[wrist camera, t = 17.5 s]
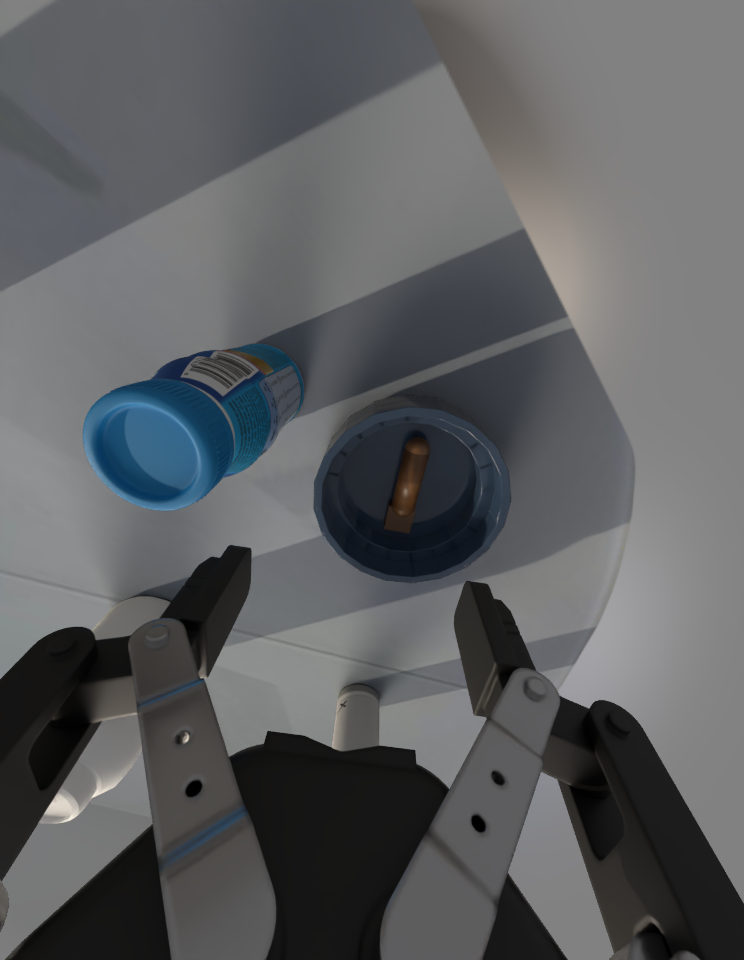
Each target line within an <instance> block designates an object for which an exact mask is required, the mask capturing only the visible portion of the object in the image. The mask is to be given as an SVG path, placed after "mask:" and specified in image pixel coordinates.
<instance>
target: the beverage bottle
mask: <svg viewBox="0 0 744 960" xmlns="http://www.w3.org/2000/svg"><path fill="white" fill-rule="evenodd" d="M303 399H304V382H303V378H302V375H301V373H300V371H299V369H298V367H297V365H296V364H295V363H294V361H293V360H292V359H291V358H290V357H289V356H288V355H287V354H286V353H284V352H283V351H281V350H280V349H278V348H276V347H273V346H270V345H266V344H249V345H245V346H242V347H238V348H232V349H227V350H210V351H203V352H199V353H196V354H193V355H191V356H188V357H183V358H179V359H176V360H174V361H171V362H169V363H168V364H166V365H164V366H163V367H161V368H160V369H159V370H158V371H157V372H156V373H155V374H154V375H153V376H152V377H151V378H150V380H147V381H142V382H138V383H134V384H130V385H127V386H123V387H120V388H117V389H115V390H113V391H111V392H110V393H107V394H106V395H104V396H103V397H101V398H100V399H99V400H98V401H97V402H96V403H95V404H94V405H93V406H92V407H91V409H90V410H89V412H88V414H87V416H86V419H85V422H84V426H83V443H84V448H85V452H86V455H87V458H88V460H89V462H90V464H91V466H92V468H93V469H94V471H95V472H96V474H97V475H98V477H99V478H100V479H101V480H102V481H103V482H104V483H105V484H106V485H107V486H108V487H109V488H110V489H111V490H112V491H113V492H115V493H116V494H117V495H119V496H120V497H122V498H123V499H125V500H127V501H129V502H131V503H133V504H135V505H138V506H141V507H144V508H147V509H152V510H161V511H169V510H177V509H181V508H184V507H187V506H189V505H191V504H193V503H195V502H197V501H199V500H200V499H202V498H203V497H204V496H206V495H207V494H208V493H209V492H210V491H211V490H212V489H213V488H214V487H215V486H216V485H217V484H218V483H219V481H220V480H221V479H222V478H223V477H228V476H231V475H234V474H237V473H239V472H241V471H243V470H245V469H246V468H248V467H249V466H250V465H252V464H253V463H254V462H255V461H256V460H257V458H258V457H260V456H261V455H262V454H264V453H265V452H266V451H267V450H268V449H269V448H270V447H271V445H272V444H273V443H274V441H275V439H276V437H277V435H278V433H279V431H280V430H281V429H282V428H283V427H284V426H285V425H286V424H287V423H288V422H290V421H291V420H292V419H293V418H294V417H295V416H296V414H297V413H298V412H299V410H300V408H301V406H302V403H303Z"/></svg>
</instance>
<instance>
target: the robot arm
mask: <svg viewBox="0 0 744 960" xmlns="http://www.w3.org/2000/svg"><path fill="white" fill-rule="evenodd" d="M250 583H251V548H247V547H240V546H234V545H229V546H228V547H227V549H226V550H225V552H224V553H223V554H222V556H221V557H220V558H217V557H210V558H209V559H207V560H206V561H204V562H203V563H201V564H199V565H198V567H197V568H196V569H195V571H194V572H193V574H192V575H191V577H190V578H189V579H188V580H187V582H186V583H185V586H183V587H182V588H181V590H180V591H179V592H178V594H177V595H176V596H175V598H174V599H173V600H172V602H171V603H170V604H169V606H168V607H167V608H166V610H165V611H164V613H163V614H162V615H161V617H160V618H159V619H155V620H152V621H149V622H147V623H145V624H143V625H142V626H140V627H139V628H138V629H136V630H135V631H134V632H133V634H132V635H129V636H124V637H117V638H109V639H100V640H96V639H95V635H94V633H93V632H92V631H91V630H90V629H87V628H84V627H69V628H64V629H61V630H58V631H55V632H53V633H51V634H49V635H47V636H45V637H43V638H42V639H41V640H39V641H38V642H37V643H36V644H34V645H33V646H32V647H31V648H30V649H29V650H28V651H27V653H26V654H25V655H24V656H23V657H22V658H21V659H20V660H19V661H18V662H17V663H16V664H15V665H14V666H13V667H12V668H11V669H10V670H9V671H8V672H7V673H6V674H5V675H4V676H3V677H2V678H1V679H0V931H1V929H2V927H3V925H4V922H5V919H6V917H7V913H8V908H9V897H8V893H7V891H6V889H5V887H4V885H3V883H2V880H3V878H4V877H5V875H6V873H7V872H8V871H9V869H10V867H11V866H12V864H13V863H14V861H15V859H16V858H17V856H18V855H19V853H20V851H21V850H22V848H23V847H24V845H25V843H26V842H27V840H28V839H29V837H30V835H31V834H32V832H33V831H34V829H35V828H36V826H37V824H38V823H39V821H40V820H41V818H42V816H43V815H44V813H45V812H46V810H47V809H48V807H49V805H50V804H51V802H52V801H53V799H54V797H55V796H56V794H57V793H58V791H59V789H60V788H61V786H62V785H63V783H64V781H65V780H66V778H67V777H68V775H69V774H70V772H71V770H72V769H73V767H74V766H75V764H76V762H77V761H78V759H79V758H80V756H81V754H82V753H83V751H84V750H85V748H86V746H87V745H88V743H89V742H90V740H91V739H92V737H93V735H94V734H95V732H96V731H97V729H98V727H99V726H100V724H101V723H102V721H105V720H110V719H115V718H121V717H126V716H132V715H138V722H139V729H140V736H141V744H142V751H143V758H144V765H145V772H146V779H147V786H148V794H149V801H150V808H151V815H152V822H153V824H152V825H151V826H150V827H148V828H147V829H146V830H145V831H144V832H143V833H142V834H141V835H140V836H138V837H137V838H136V839H135V840H134V841H133V842H132V843H131V844H130V845H128V846H127V847H126V848H125V849H124V850H123V851H122V852H121V853H120V854H119V855H117V856H116V857H115V858H114V859H113V860H112V861H111V862H110V863H109V864H107V865H106V866H105V867H104V868H103V869H102V870H101V871H100V872H99V873H98V874H96V875H95V877H93V878H92V879H91V880H90V881H89V882H88V883H86V884H85V885H84V886H83V887H82V888H81V889H80V890H79V891H78V892H77V893H76V894H74V895H73V896H72V897H71V898H70V899H69V900H68V901H66V902H65V903H64V904H63V905H62V906H61V907H60V908H59V909H58V910H57V911H55V912H54V913H53V914H52V915H51V916H50V917H49V918H48V919H47V920H45V921H44V922H43V923H42V924H41V925H40V926H39V927H38V928H37V929H36V930H34V931H33V932H32V933H31V934H30V935H29V936H28V937H27V938H26V939H24V940H23V941H22V942H21V943H20V944H19V945H18V946H17V947H16V948H15V950H14V951H12V953H11V954H10V955H9V956H8V957H7V958H6V959H5V960H568V959H567V958H566V957H565V955H564V954H563V952H562V951H561V949H560V948H559V946H558V945H557V944H556V942H555V941H554V939H553V938H552V936H551V935H550V933H549V932H548V930H547V929H546V928H545V926H544V925H543V923H542V922H541V920H540V919H539V917H538V916H537V914H536V913H535V912H534V910H533V909H532V907H531V906H530V904H529V903H528V901H527V900H526V899H525V897H524V896H523V894H522V893H521V891H520V890H519V888H518V887H517V885H516V884H515V883H514V881H513V880H512V878H511V877H510V875H509V874H508V870H509V867H510V864H511V861H512V858H513V855H514V852H515V849H516V846H517V843H518V840H519V837H520V834H521V831H522V828H523V825H524V822H525V819H526V816H527V813H528V810H529V807H530V804H531V800H532V797H533V794H534V791H535V788H536V785H537V782H538V779H539V776H540V773H541V772H543V773H545V774H547V775H549V776H551V777H554V778H555V779H557V780H558V783H559V786H560V789H561V792H562V795H563V798H564V801H565V804H566V807H567V810H568V813H569V816H570V819H571V823H572V825H573V829H574V831H575V835H576V838H577V841H578V844H579V847H580V850H581V853H582V856H583V859H584V862H585V865H586V868H587V872H588V875H589V878H590V881H591V884H592V887H593V890H594V893H595V896H596V899H597V902H598V905H599V908H600V911H601V914H602V917H603V920H604V924H605V927H606V930H607V933H608V936H609V939H610V942H611V945H612V948H613V951H614V955H612V957H611V958H610V959H609V960H744V903H743V902H742V900H741V898H740V897H739V895H738V893H737V892H736V890H735V888H734V886H733V884H732V883H731V881H730V879H729V878H728V876H727V874H726V872H725V870H724V869H723V867H722V865H721V863H720V862H719V860H718V858H717V857H716V855H715V854H714V851H713V850H712V848H711V846H710V845H709V843H708V841H707V839H706V838H705V836H704V834H703V832H702V831H701V829H700V827H699V825H698V824H697V822H696V820H695V818H694V817H693V815H692V813H691V811H690V810H689V808H688V806H687V805H686V803H685V801H684V799H683V798H682V796H681V794H680V792H679V791H678V789H677V787H676V785H675V784H674V782H673V780H672V779H671V777H670V775H669V773H668V772H667V770H666V768H665V766H664V765H663V763H662V761H661V759H660V758H659V756H658V754H657V752H656V751H655V749H654V747H653V745H652V744H651V742H650V740H649V739H648V737H647V735H646V733H645V732H644V730H643V728H642V727H641V725H640V724H639V723H638V722H637V720H636V719H635V718H634V717H633V716H632V715H631V714H630V713H629V712H627V711H626V710H625V709H623V708H622V707H620V706H618V705H616V704H614V703H612V702H609V701H605V700H599V701H595V702H594V703H593V704H592V705H591V707H590V709H588V708H586V707H584V706H581V705H579V704H577V703H574V702H572V701H569V700H567V699H565V698H563V697H561V696H559V694H558V691H557V690H556V688H555V686H554V685H553V684H552V683H551V682H550V681H549V680H548V679H547V678H546V677H545V676H543V675H542V674H540V673H539V672H537V671H536V669H535V667H534V665H533V662H532V660H531V658H530V655H529V653H528V651H527V648H526V646H525V644H524V641H523V639H522V637H521V635H520V632H519V630H518V627H517V625H516V623H515V620H514V618H513V616H512V613H511V611H510V610H509V609H508V608H507V607H506V606H505V604H504V603H503V602H502V601H501V600H497V599H494V598H493V595H492V593H491V590H490V588H489V586H488V584H485V583H478V582H471V581H466V583H465V584H464V587H463V590H462V593H461V596H460V599H459V602H458V605H457V608H456V611H455V616H454V629H455V634H456V638H457V643H458V647H459V651H460V656H461V660H462V665H463V669H464V673H465V678H466V682H467V687H468V691H469V696H470V700H471V704H472V709H473V713H474V715H476V716H483V717H486V718H487V720H486V722H485V724H484V725H483V727H482V729H481V731H480V733H479V735H478V737H477V739H476V740H475V742H474V744H473V746H472V748H471V750H470V752H469V754H468V755H467V757H466V759H465V761H464V763H463V765H462V767H461V769H460V771H459V772H458V774H457V776H456V778H455V780H454V782H453V784H452V786H451V787H450V789H449V788H448V787H447V786H446V785H445V784H444V783H443V782H442V781H441V780H440V779H439V778H438V777H436V776H435V775H434V774H433V773H431V772H430V771H428V770H427V769H425V768H423V767H422V766H420V765H417V764H416V754H415V750H410V749H402V748H394V747H387V746H374V747H367V748H361V749H355V750H349V751H338V750H336V749H333V748H331V747H329V746H327V745H324V744H322V743H320V742H317V741H315V740H313V739H311V738H308V737H306V736H302V735H294V734H287V733H279V732H271V731H267V735H266V739H265V742H264V744H261V745H256V746H252V747H249V748H246V749H244V750H242V751H239V752H237V753H235V754H234V755H232V756H230V757H229V756H228V753H227V750H226V746H225V743H224V740H223V737H222V734H221V730H220V727H219V724H218V721H217V718H216V714H215V711H214V708H213V705H212V702H211V698H210V695H209V692H208V689H207V686H206V683H205V681H204V679H203V678H208V676H209V674H210V672H211V670H212V668H213V666H214V664H215V662H216V660H217V658H218V656H219V654H220V652H221V650H222V648H223V646H224V644H225V642H226V639H227V637H228V635H229V633H230V631H231V629H232V627H233V625H234V623H235V621H236V619H237V617H238V615H239V613H240V611H241V609H242V607H243V605H244V602H245V600H246V598H247V596H248V593H249V589H250ZM200 677H202V679H200Z"/></svg>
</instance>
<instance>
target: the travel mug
mask: <svg viewBox="0 0 744 960" xmlns="http://www.w3.org/2000/svg"><path fill="white" fill-rule="evenodd" d="M374 746H379V695H378V694H377V692H376V691H375V690H374V689H372V688H371V687H368V686H365V685H360V684H356V685H350V686H347V687H345V688H344V689H342V691H341V692H340V693H339V695H338V703H337V711H336V719H335V727H334V736H333V744H332V748H333V749H336V750H338V751H349V750H355V749H361V748H367V747H374Z"/></svg>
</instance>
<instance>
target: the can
mask: <svg viewBox="0 0 744 960" xmlns="http://www.w3.org/2000/svg"><path fill="white" fill-rule="evenodd" d="M170 603H171V602H169V601H167V600H163V599H159V598H155V597H144V596H138V597H134V598H130V599H126V600H124V601H122V602H120V603H119V604H117V605H116V606H115V607H113V608H112V609H111V610H110V611H109V612H108V613H107V614H106V615H105V616H104V617H103V619H102V620H101V621H100V622H99V623H98V624H97V625H96V626H95V627H94V628H93V629H92V630H91V631H92V632H93V633H94V635H95V639H96V640H100V639H109V638H117V637H124V636H129V635H132V634H133V632H134V631H135V630H136V629H138V628H139V627H140V626H142V625H143V624H145V623H147V622H149V621H152V620H155V619H159V618H160V617H161V615H162V614H163V613H164V611H165V610H166V608H167V607H168V606H169V604H170ZM141 751H142V744H141V736H140V729H139V722H138V715H132V716H126V717H121V718H115V719H110V720H105V721H102V723H101V724H100V726H99V727H98V729H97V731H96V732H95V734H94V735H93V737H92V739H91V740H90V742H89V743H88V745H87V746H86V748H85V750H84V751H83V753H82V754H81V756H80V758H79V759H78V761H77V762H76V764H75V766H74V767H73V769H72V770H71V772H70V774H69V775H68V777H67V778H66V780H65V781H64V783H63V785H62V786H61V788H60V789H59V791H58V793H57V794H56V796H55V797H54V799H53V801H52V802H51V804H50V805H49V807H48V809H47V810H46V812H45V813H44V815H43V816H42V818H41V820H40V821H39V823H51V824H53V823H54V824H55V823H62V822H67V821H69V820H71V819H73V818H75V817H76V816H77V815H78V814H79V813H81V812H82V811H83V810H84V808H85V807H86V806H87V804H88V803H89V801H90V800H91V798H93V797H95V796H97V795H100V794H102V793H104V792H106V791H108V790H110V789H112V788H114V787H115V786H116V785H117V784H118V783H119V781H120V780H121V779H122V778H123V777H124V776H125V775H126V773H127V772H128V771H129V770H130V768H131V767H132V766H133V764H134V763H135V761H136V760H137V758H138V756H139V754H140V752H141Z"/></svg>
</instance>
